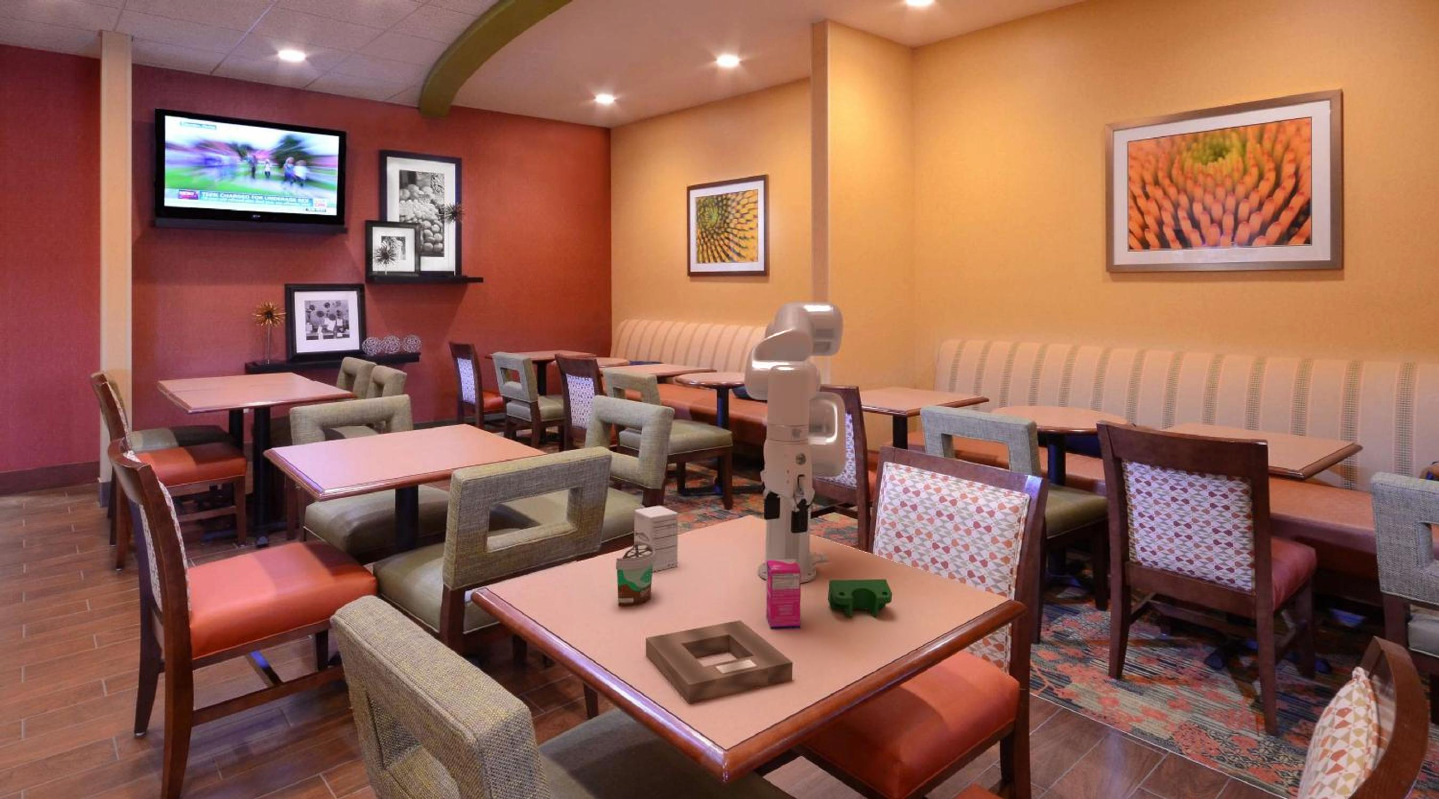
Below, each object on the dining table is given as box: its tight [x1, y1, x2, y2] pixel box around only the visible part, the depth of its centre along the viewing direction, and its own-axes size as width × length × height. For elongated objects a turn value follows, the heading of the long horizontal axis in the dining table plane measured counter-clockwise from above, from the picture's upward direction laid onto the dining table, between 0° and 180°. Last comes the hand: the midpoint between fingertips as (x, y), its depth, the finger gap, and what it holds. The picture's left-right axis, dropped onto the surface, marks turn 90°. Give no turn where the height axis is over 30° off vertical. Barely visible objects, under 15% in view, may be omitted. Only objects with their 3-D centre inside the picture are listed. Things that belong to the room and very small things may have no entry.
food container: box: [615, 540, 657, 607], centre depth 161 cm, size 12×6×10 cm, turn 168°
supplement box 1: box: [633, 505, 679, 573], centre depth 181 cm, size 7×7×13 cm
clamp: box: [827, 578, 893, 619], centre depth 156 cm, size 12×6×9 cm
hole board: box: [645, 619, 794, 705], centre depth 133 cm, size 18×18×3 cm
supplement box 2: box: [765, 559, 802, 630], centre depth 150 cm, size 6×6×12 cm
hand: (785, 525), depth 148 cm, fingers open, 9 cm apart
